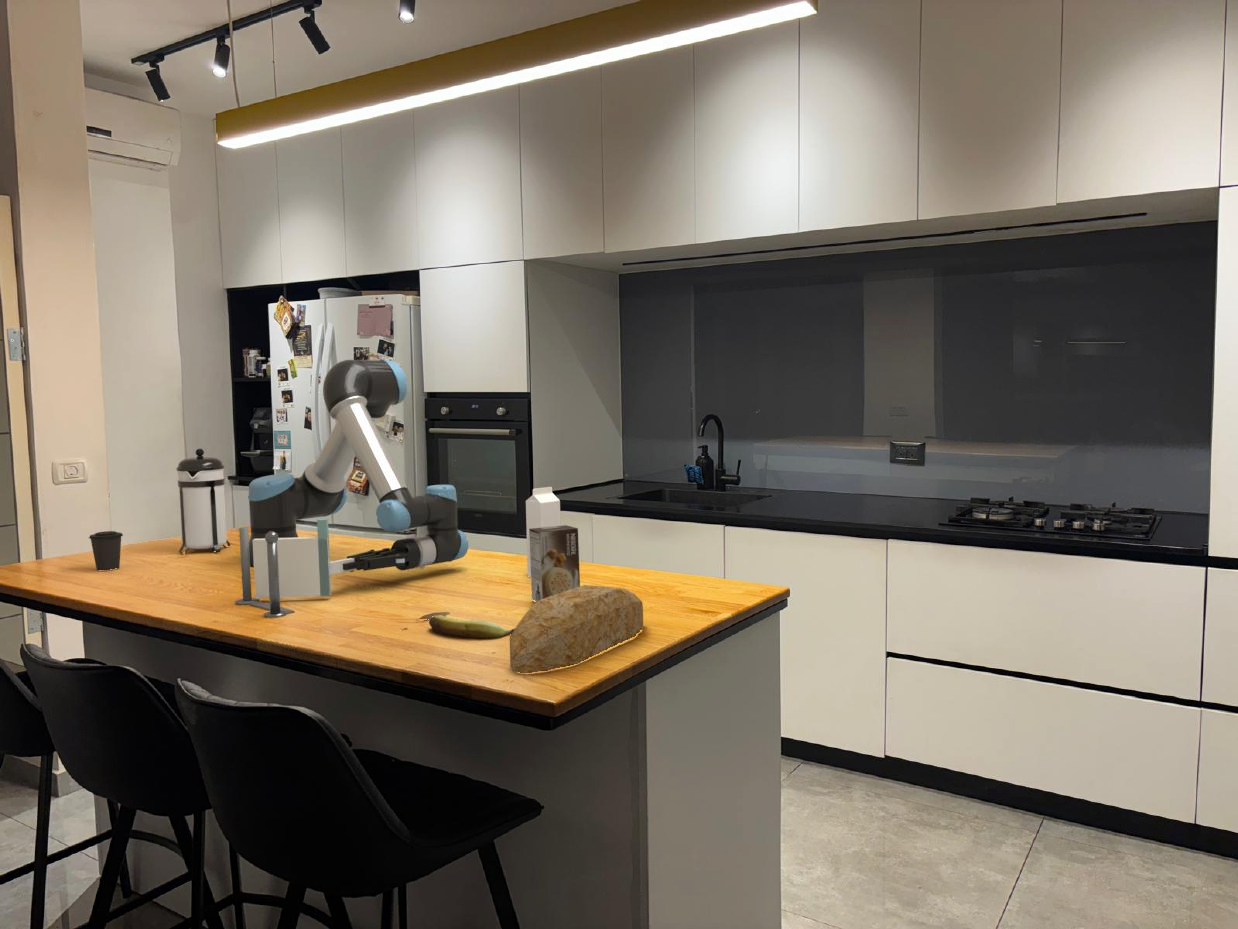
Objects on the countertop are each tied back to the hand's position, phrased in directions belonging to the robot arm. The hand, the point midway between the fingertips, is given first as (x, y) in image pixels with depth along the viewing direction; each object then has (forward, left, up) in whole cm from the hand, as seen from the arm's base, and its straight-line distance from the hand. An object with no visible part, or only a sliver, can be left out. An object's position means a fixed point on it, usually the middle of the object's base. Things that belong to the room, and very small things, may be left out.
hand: (328, 568), depth 213 cm
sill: (-3, -14, -6) cm, 16 cm away
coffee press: (-85, +14, -7) cm, 87 cm away
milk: (+25, +44, -7) cm, 51 cm away
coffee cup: (-78, -16, -7) cm, 80 cm away
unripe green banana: (+50, -2, -7) cm, 50 cm away
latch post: (+6, -17, -6) cm, 19 cm away
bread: (+73, +4, -7) cm, 74 cm away
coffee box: (+45, +27, -7) cm, 53 cm away
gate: (-4, -8, -6) cm, 11 cm away
